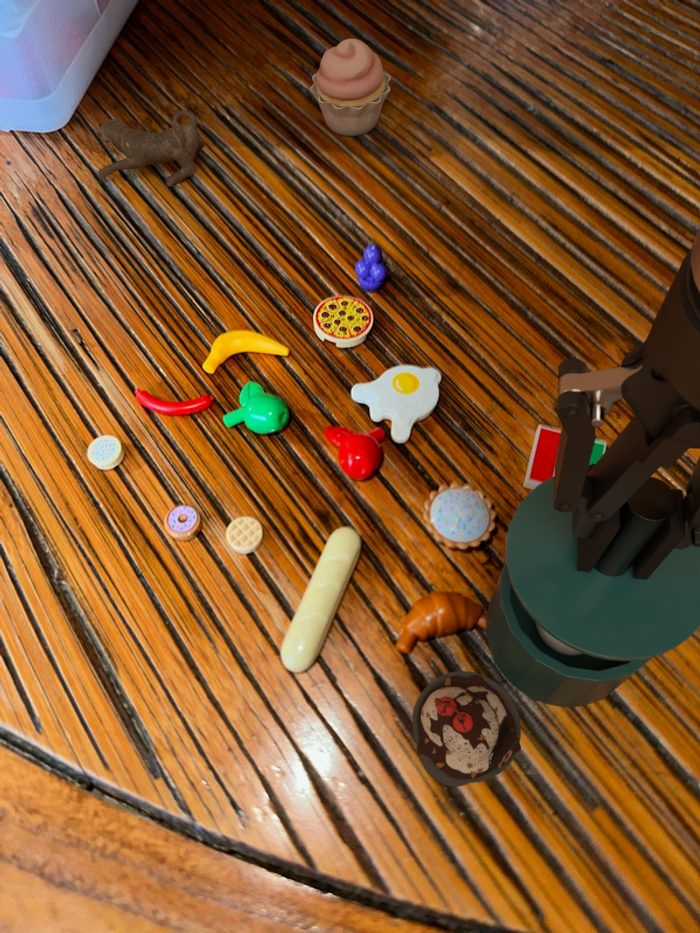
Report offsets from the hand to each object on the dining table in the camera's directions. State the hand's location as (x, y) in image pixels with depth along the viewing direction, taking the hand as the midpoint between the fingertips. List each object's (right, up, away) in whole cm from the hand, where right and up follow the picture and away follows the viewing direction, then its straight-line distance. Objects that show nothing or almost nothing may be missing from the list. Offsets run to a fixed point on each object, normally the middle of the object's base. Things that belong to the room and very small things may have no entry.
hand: (611, 554), depth 46 cm
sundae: (-8, -16, +10) cm, 20 cm away
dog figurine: (-38, +39, +42) cm, 69 cm away
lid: (0, 0, +1) cm, 1 cm away
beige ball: (+1, -8, +13) cm, 16 cm away
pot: (+1, -8, +14) cm, 16 cm away
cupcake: (-16, +46, +45) cm, 66 cm away
